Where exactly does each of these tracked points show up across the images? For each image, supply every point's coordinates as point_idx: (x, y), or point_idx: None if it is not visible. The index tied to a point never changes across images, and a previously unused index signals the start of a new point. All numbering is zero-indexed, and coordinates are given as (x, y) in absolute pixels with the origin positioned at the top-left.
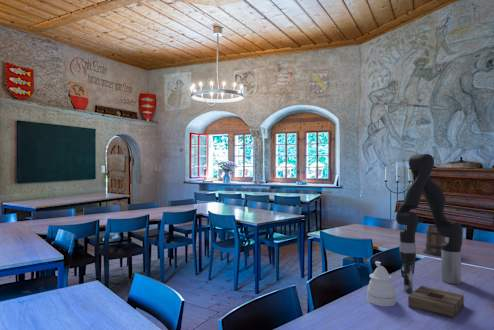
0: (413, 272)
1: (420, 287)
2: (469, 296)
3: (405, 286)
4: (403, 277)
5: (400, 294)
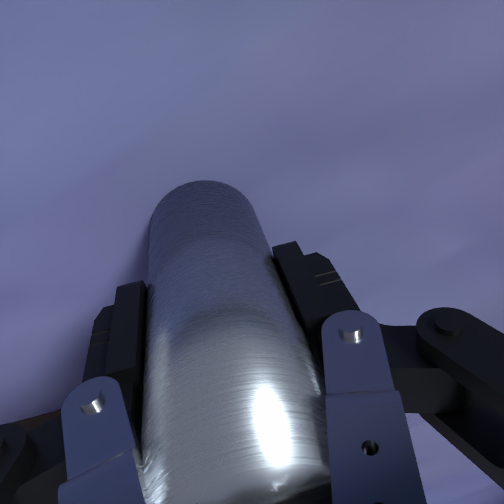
0: (438, 413)
1: None
2: (471, 486)
3: (148, 268)
4: (76, 389)
5: (4, 244)
